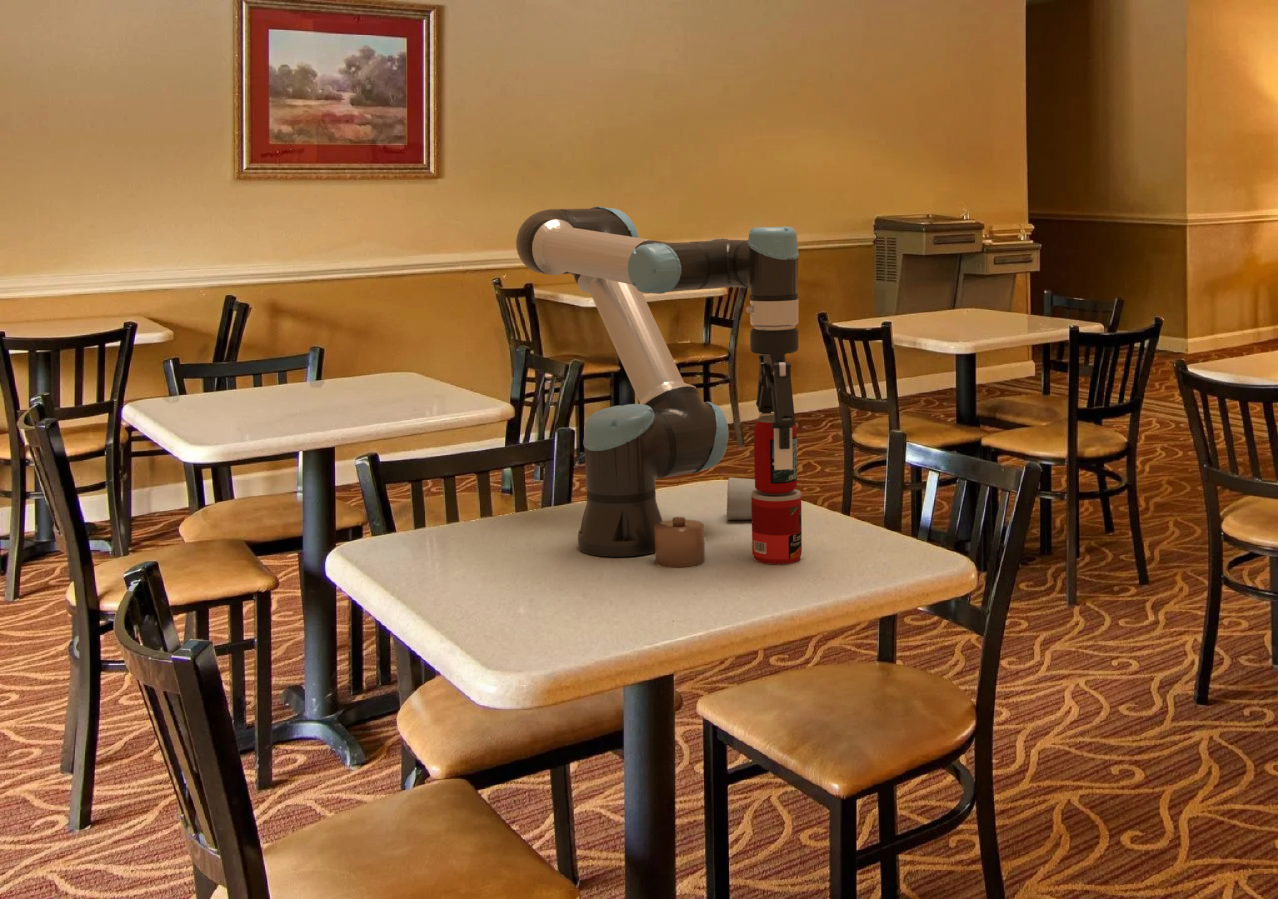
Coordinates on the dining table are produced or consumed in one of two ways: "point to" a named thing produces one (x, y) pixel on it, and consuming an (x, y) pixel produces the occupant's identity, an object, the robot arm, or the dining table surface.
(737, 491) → the ceramic mug
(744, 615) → the dining table surface
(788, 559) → the canned food
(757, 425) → the beverage can
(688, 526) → the sugar bowl
